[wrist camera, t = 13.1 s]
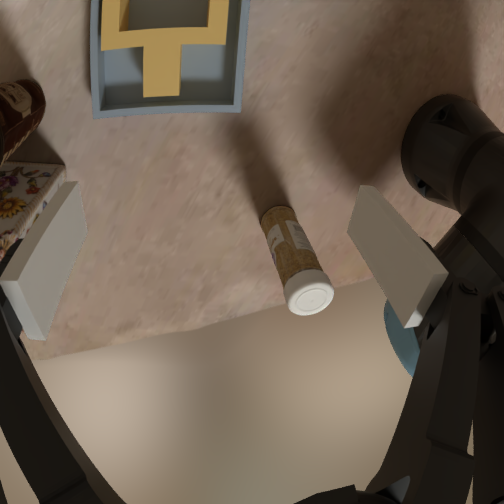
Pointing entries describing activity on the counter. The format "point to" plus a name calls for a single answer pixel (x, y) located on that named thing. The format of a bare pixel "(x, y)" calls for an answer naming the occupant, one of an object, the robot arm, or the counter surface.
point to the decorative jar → (25, 197)
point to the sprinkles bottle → (296, 262)
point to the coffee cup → (18, 114)
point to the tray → (192, 65)
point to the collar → (160, 43)
